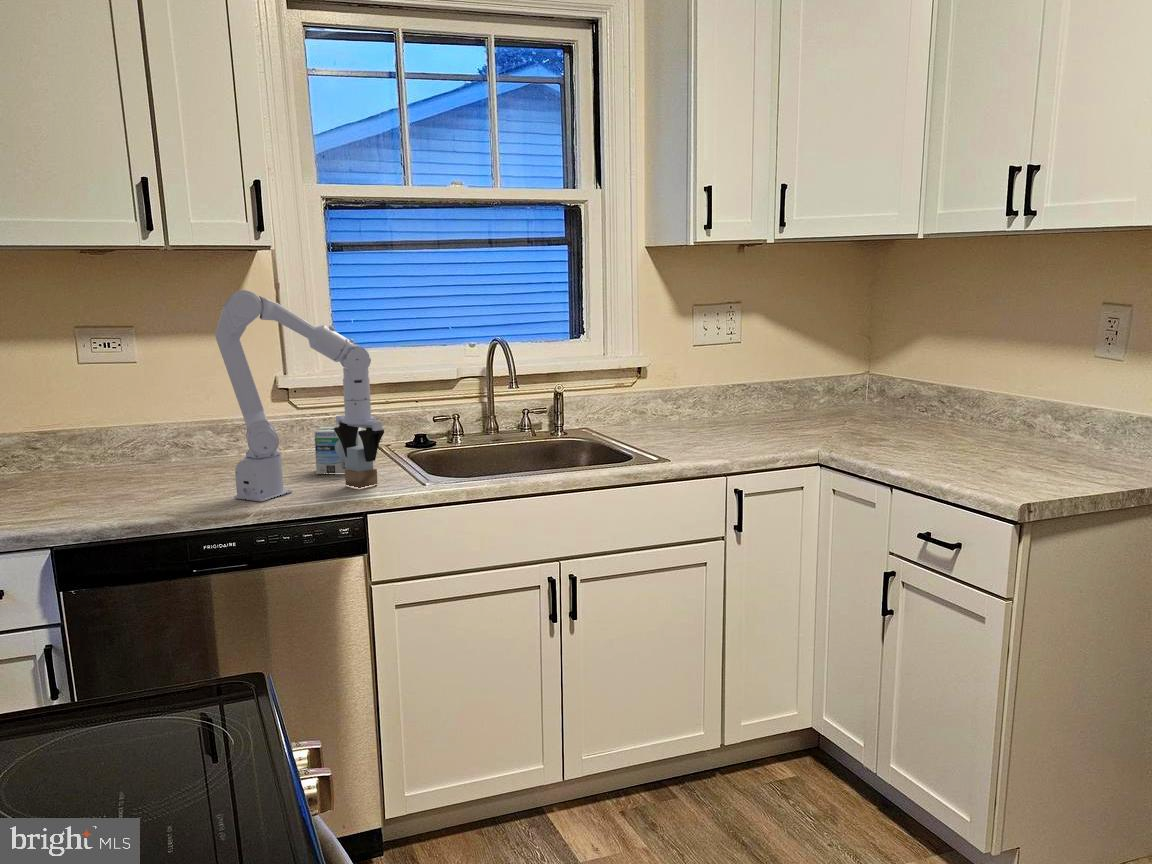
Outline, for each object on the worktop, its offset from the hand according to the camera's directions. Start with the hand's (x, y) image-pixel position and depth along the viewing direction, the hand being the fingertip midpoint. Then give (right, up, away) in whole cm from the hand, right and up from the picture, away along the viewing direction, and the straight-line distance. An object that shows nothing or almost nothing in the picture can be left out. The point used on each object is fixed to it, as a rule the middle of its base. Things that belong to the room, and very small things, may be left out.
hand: (360, 458), depth 201 cm
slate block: (0, -2, 0) cm, 2 cm away
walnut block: (0, -6, +1) cm, 6 cm away
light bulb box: (-8, -4, +16) cm, 18 cm away
